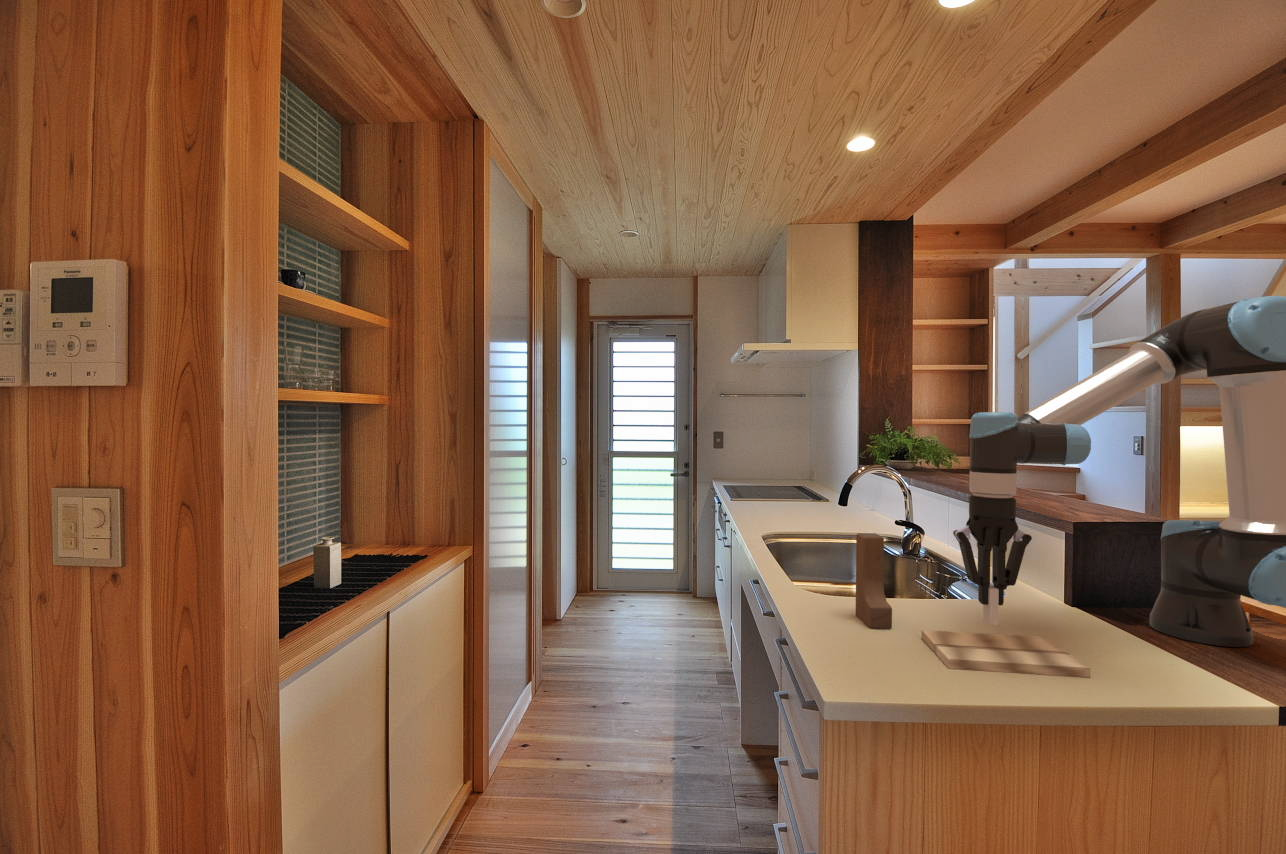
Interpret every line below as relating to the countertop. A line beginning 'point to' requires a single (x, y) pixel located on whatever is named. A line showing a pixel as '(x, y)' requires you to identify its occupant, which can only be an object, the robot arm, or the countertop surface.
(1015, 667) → the laid board
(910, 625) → the countertop surface
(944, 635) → the board
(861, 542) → the wooden block
